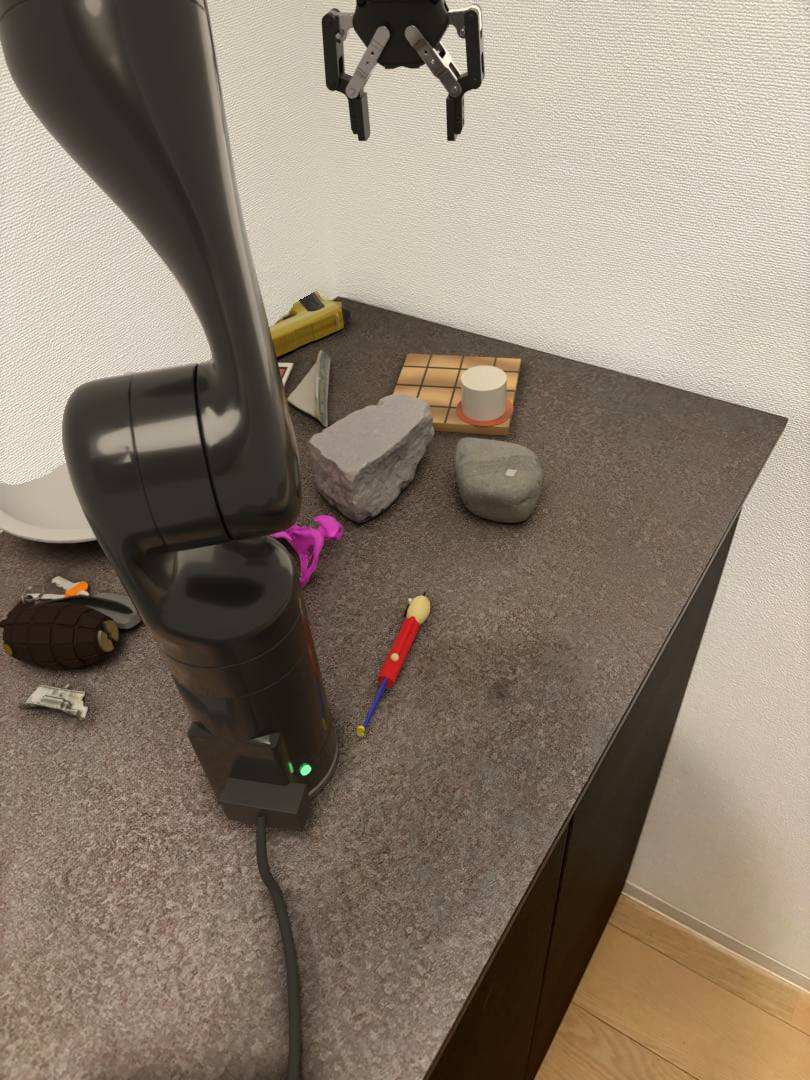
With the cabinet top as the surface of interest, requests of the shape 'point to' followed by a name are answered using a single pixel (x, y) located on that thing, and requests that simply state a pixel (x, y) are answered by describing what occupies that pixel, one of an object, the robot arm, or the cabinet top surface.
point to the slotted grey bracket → (57, 700)
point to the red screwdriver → (399, 650)
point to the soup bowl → (44, 509)
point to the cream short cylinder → (483, 393)
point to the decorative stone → (371, 455)
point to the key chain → (80, 589)
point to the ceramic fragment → (314, 390)
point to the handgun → (308, 322)
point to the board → (455, 390)
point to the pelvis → (311, 542)
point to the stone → (497, 479)
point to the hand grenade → (61, 630)
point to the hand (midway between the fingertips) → (408, 138)
